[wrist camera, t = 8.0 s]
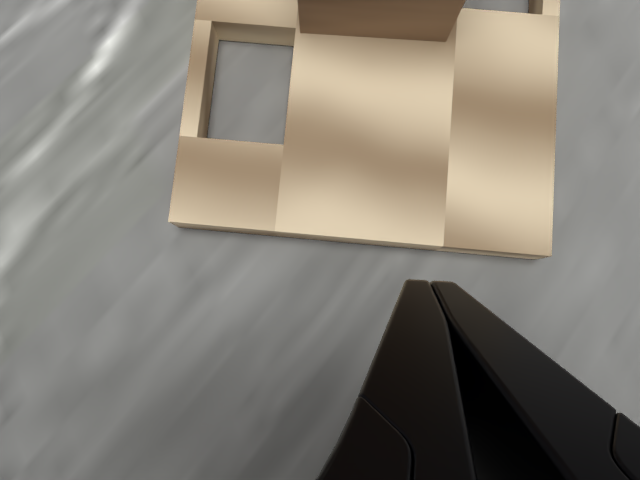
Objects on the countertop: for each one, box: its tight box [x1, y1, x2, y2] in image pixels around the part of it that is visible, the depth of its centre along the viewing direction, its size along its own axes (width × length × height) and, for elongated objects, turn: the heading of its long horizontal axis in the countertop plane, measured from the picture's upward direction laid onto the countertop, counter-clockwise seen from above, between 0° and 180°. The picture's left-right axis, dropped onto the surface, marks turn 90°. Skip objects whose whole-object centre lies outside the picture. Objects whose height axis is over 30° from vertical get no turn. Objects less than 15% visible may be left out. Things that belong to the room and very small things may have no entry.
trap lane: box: [168, 0, 560, 259], centre depth 19 cm, size 18×15×6 cm
